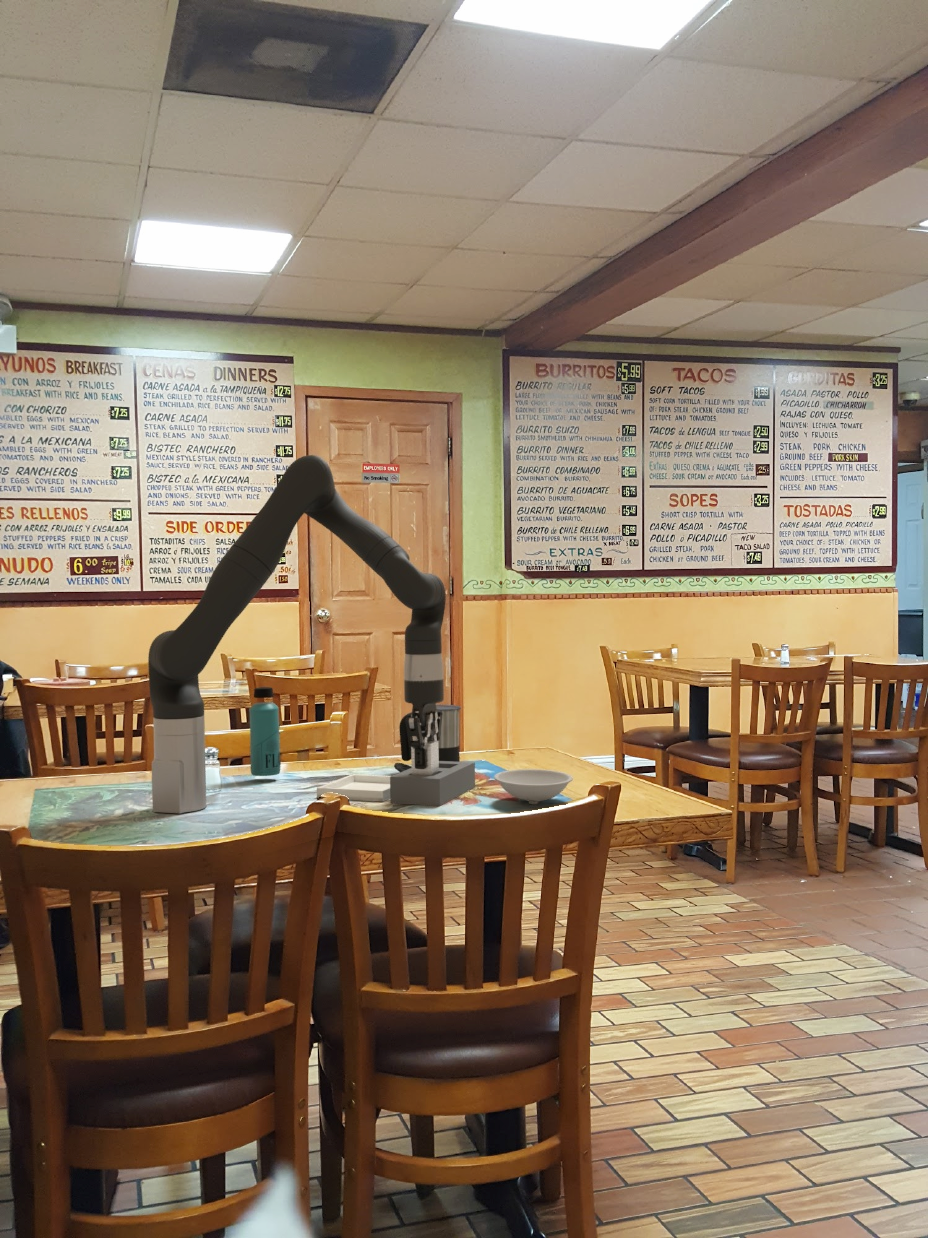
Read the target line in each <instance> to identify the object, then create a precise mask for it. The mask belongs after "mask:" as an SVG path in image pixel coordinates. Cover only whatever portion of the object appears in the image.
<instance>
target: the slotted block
mask: <svg viewBox="0 0 928 1238" xmlns="http://www.w3.org/2000/svg"><path fill="white" fill-rule="evenodd" d="M390 776H391V777H390V799H389V800H390V803H389V804H395V805H397V804H398V805H399V804H400V805H401V804H402V805H415V806H418V805H419V806H434V807H435V806H436V807H441V806H442V805H445V804H446V803H448V802H450V801H452V800H454V799H455V798H457V797H459V796H461V795H462V794H464V793H467V792H468V791H470V790H472V789H474V788H475V787H476V762H474V761H460V762H453V761H439V773H438V774H436V775H434V776H425V775H412V768H410V769H407V770H405V771H403V772H398V773H396V774H393V775H390Z"/></svg>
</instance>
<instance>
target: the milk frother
mask: <svg viewBox="0 0 928 1238" xmlns="http://www.w3.org/2000/svg"><path fill="white" fill-rule="evenodd" d="M436 708H437V711H442V712H443V716H442V726H441V736H440V741H438V749H439V761H453V762H461V761H460V760H461V759H460V710H461V709H462V706H459V705H457V704H456V705H455V704H454V705H453V704H436ZM411 714H412V711H411V712H409V713H407V714H405V715H404V716H402V718H401V720H400V722H399V727H398V729H399V741H400V744H399V745H400V754H401V760H402V761H404V762H409V761H412V760H411V747H409V743H408V736H407V730H406V724H405V719H406V718H411ZM422 739H423V737H422ZM393 767H394V769H395V770H396V771H398V773H400V772H403V771H405V770H407V769H410V768H412V765H409V764H405V763H403V762H396V763H394V765H393Z"/></svg>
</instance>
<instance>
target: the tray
mask: <svg viewBox="0 0 928 1238" xmlns="http://www.w3.org/2000/svg"><path fill="white" fill-rule="evenodd" d="M391 776H392V775H375V774H374V775H373V774H356V773H355V774H354V773H352V774H350V775H347V776H344V777H341V778H338V779H336V780H334V781H330V782H328V783H325V784H323V785H320V786H318V787H316V799H320V798H319V797H321V795H322V794H324V793H327V792H333V793H338V794H341V795H345V796H347V797H348V798H349V799H350V800H349V801H364V802H365V801H366V802H385V801H387V800H390V777H391Z"/></svg>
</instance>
